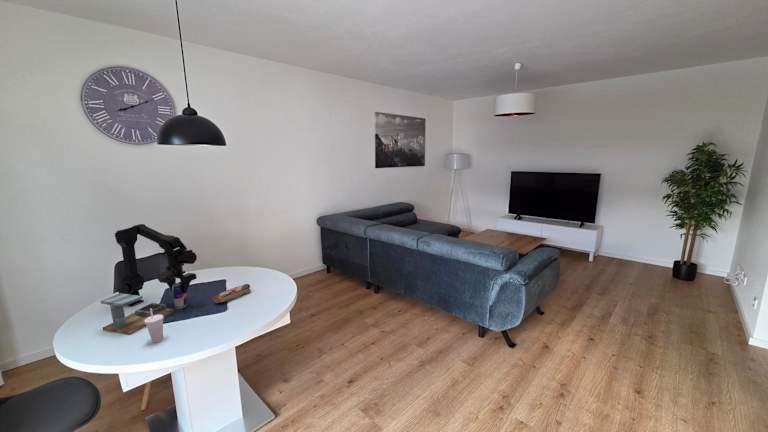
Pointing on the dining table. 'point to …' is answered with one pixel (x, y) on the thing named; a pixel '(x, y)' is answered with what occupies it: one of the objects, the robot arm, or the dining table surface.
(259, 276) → the dining table surface
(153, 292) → the dining table surface
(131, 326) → the socket board
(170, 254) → the robot arm
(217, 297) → the pencil case
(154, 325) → the smoothie
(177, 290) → the energy drink
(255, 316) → the dining table surface
